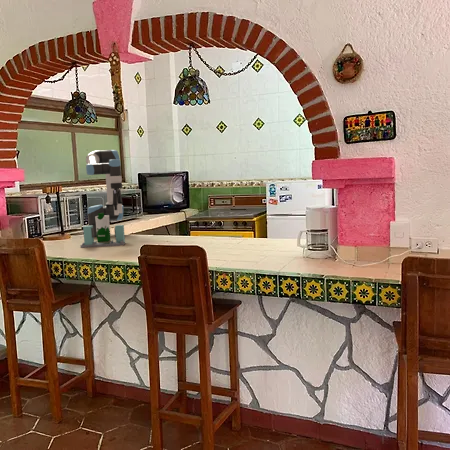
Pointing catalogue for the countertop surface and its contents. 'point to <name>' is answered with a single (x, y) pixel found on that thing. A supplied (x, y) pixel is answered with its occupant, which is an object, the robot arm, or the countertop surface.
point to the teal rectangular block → (88, 235)
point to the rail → (104, 244)
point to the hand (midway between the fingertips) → (118, 214)
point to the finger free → (119, 233)
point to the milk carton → (102, 227)
